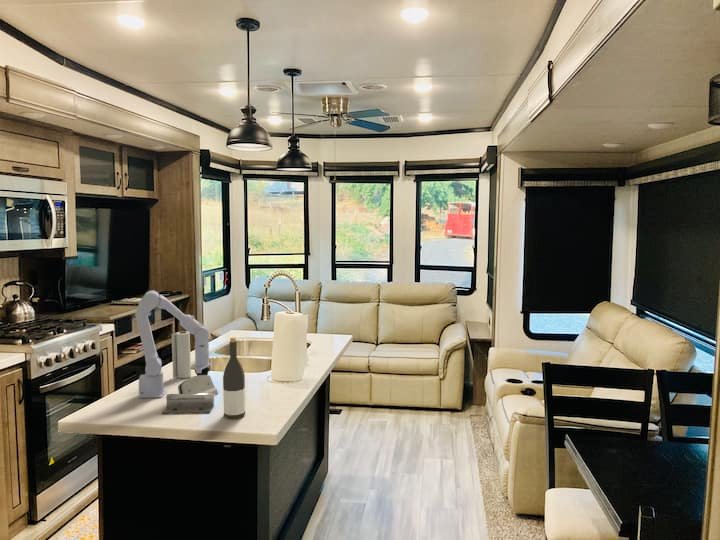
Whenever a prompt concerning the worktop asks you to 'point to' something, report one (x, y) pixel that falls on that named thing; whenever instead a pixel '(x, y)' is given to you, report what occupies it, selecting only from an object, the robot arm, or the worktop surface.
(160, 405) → the worktop surface
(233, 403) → the wine bottle
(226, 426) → the worktop surface
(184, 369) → the paper towel roll
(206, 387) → the beige piece
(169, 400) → the fixed leaf
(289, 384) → the worktop surface
